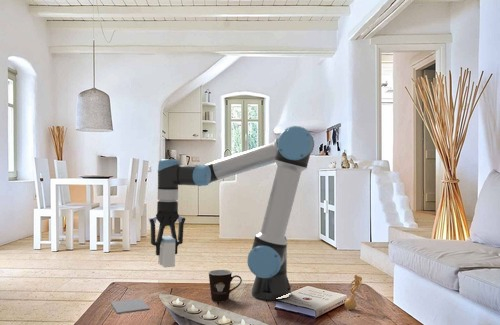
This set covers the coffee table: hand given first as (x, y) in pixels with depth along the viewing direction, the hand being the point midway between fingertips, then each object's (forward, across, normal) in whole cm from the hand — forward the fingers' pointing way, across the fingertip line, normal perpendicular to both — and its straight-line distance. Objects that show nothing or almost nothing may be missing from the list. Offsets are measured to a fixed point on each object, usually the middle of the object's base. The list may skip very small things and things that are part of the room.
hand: (166, 263), depth 173 cm
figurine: (+12, -57, +37) cm, 69 cm away
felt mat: (+13, +14, +4) cm, 20 cm away
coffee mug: (+13, -20, +9) cm, 25 cm away
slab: (0, 0, 0) cm, 0 cm away
